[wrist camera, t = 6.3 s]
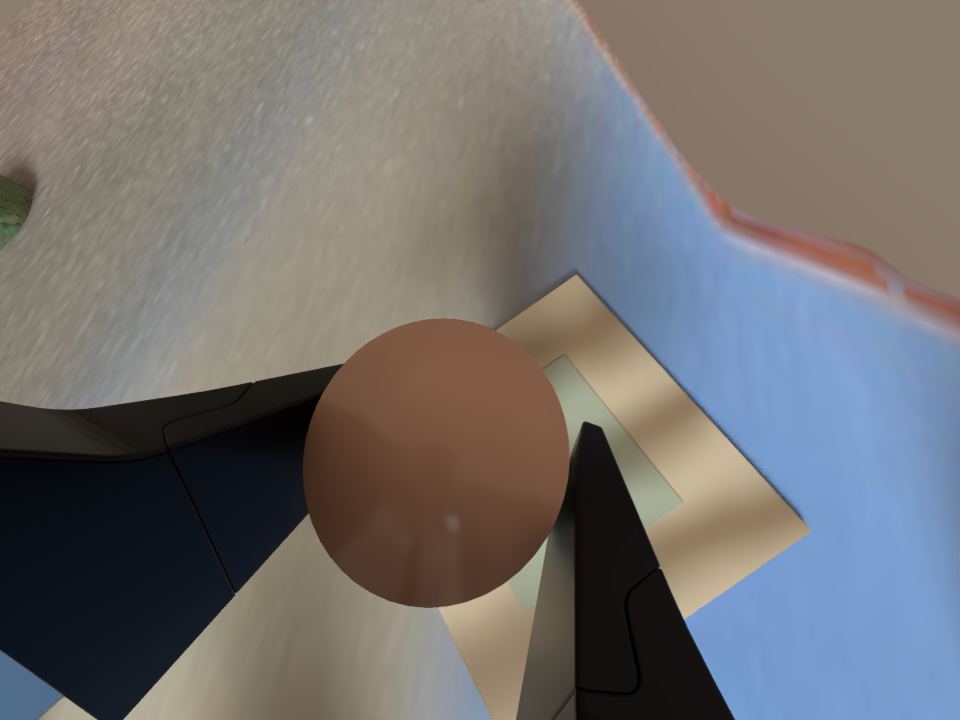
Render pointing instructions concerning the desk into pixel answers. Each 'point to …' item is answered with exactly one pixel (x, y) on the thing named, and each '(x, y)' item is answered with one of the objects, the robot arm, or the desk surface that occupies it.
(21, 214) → the decorative artifact
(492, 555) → the tube
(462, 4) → the desk surface
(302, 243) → the desk surface
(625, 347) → the board
